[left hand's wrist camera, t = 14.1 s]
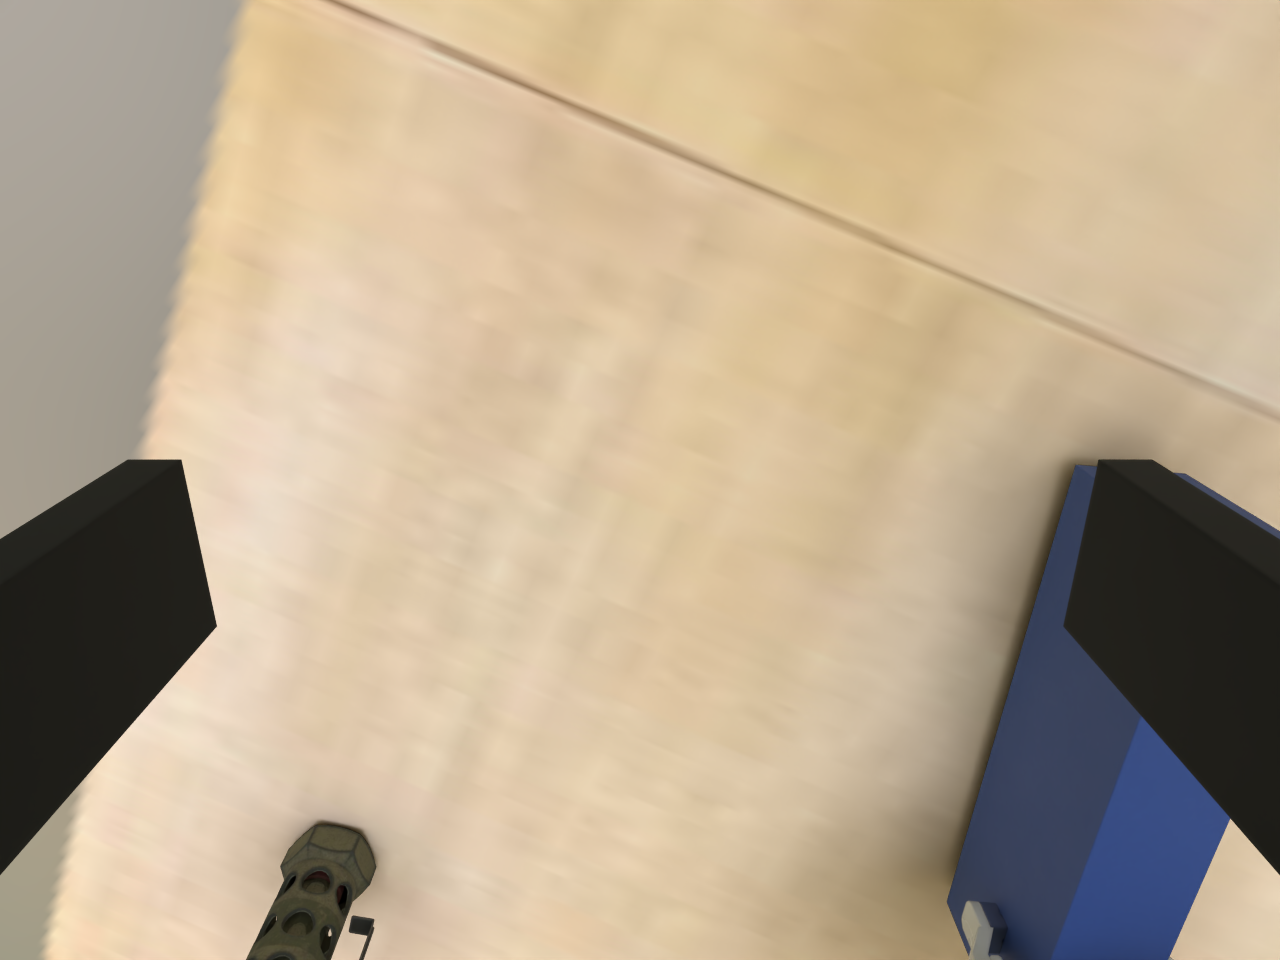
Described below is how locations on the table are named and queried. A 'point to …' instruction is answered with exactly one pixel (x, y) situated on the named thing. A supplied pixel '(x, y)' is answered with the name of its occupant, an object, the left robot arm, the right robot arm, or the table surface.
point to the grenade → (317, 896)
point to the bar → (1083, 797)
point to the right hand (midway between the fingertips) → (1040, 914)
